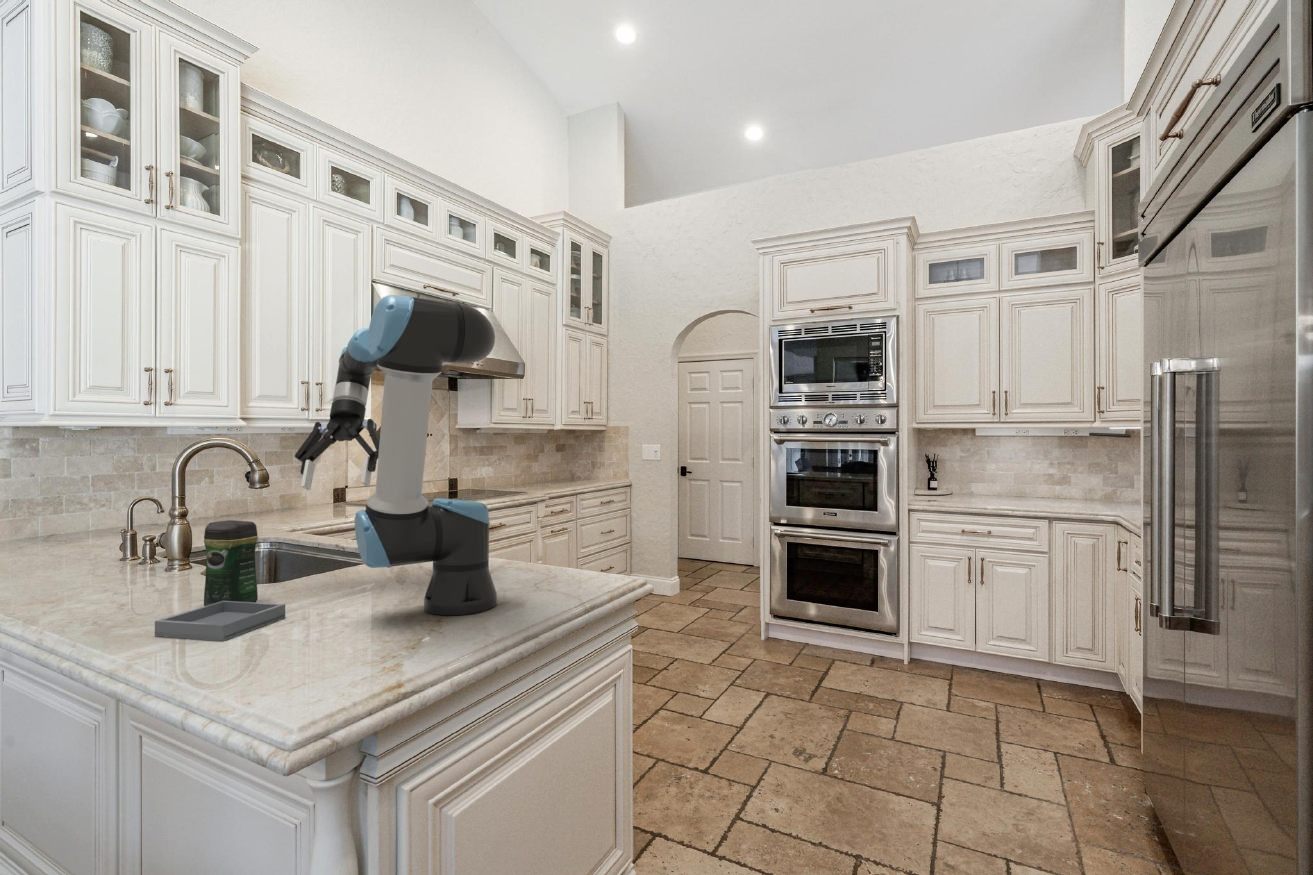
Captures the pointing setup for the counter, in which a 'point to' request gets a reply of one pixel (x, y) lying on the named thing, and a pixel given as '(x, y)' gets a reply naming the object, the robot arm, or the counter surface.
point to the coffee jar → (230, 562)
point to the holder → (220, 620)
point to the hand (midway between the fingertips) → (335, 486)
